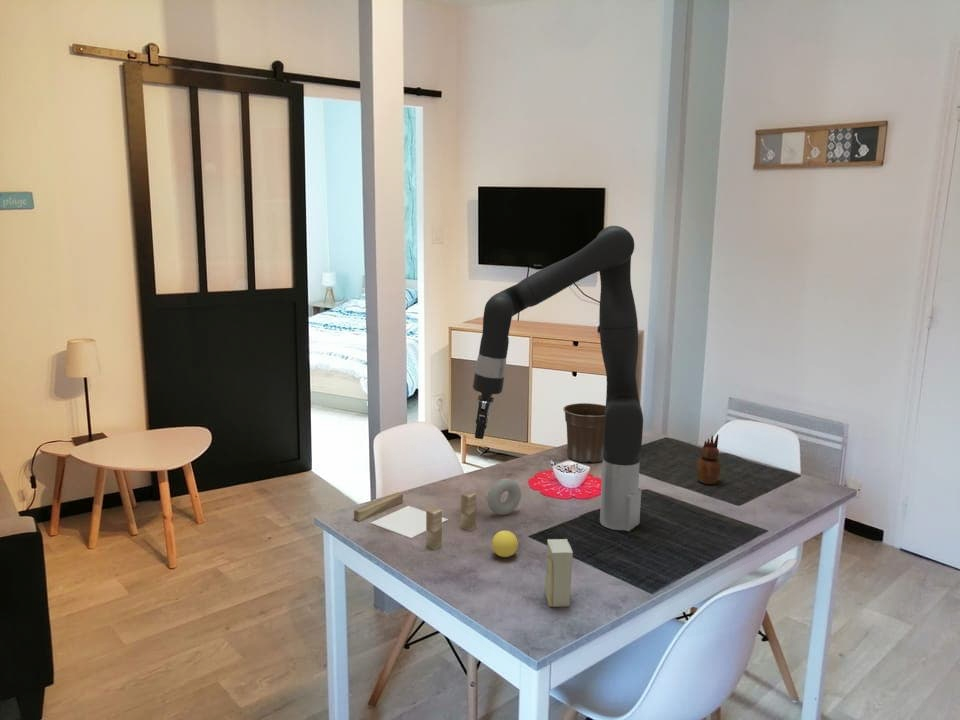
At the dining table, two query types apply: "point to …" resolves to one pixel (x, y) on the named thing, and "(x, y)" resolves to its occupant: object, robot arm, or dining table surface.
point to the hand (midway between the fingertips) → (480, 433)
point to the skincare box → (558, 572)
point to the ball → (504, 543)
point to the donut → (498, 490)
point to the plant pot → (585, 431)
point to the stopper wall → (378, 506)
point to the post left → (434, 528)
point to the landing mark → (405, 522)
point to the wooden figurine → (709, 463)
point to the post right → (468, 511)
